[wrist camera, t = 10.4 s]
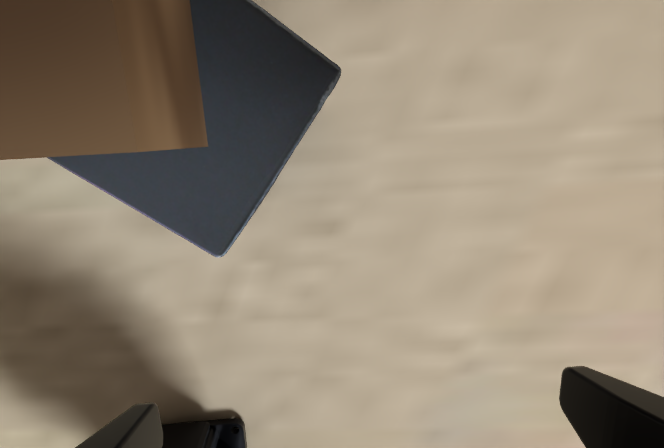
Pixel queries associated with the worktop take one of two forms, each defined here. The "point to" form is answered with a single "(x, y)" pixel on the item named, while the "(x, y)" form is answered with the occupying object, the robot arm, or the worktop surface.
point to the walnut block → (98, 78)
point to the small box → (224, 128)
